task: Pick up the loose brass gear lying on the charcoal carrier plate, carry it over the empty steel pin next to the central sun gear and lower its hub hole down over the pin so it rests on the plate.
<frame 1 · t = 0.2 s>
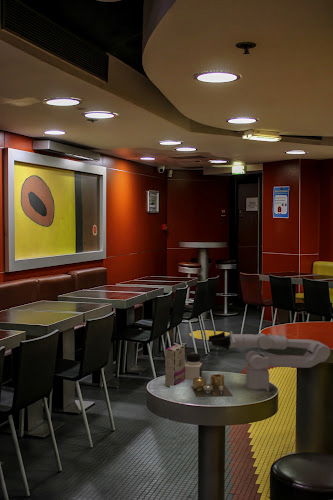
hand: (210, 340, 248), 21 cm above the table, tool horizontal, fingers open, 7 cm apart
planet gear: (217, 387, 250), point 1 cm above the table, touching carrier
medicine bottle: (193, 380, 265), on the table
candy bar box: (175, 384, 258), on the table
carrier: (211, 393, 244), on the table
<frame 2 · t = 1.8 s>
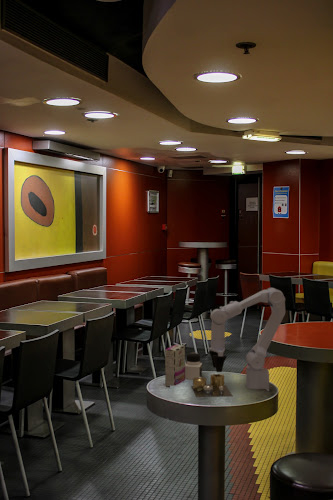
hand: (217, 369, 249), 9 cm above the table, tool pointing down, fingers open, 7 cm apart
nothing on the table moved.
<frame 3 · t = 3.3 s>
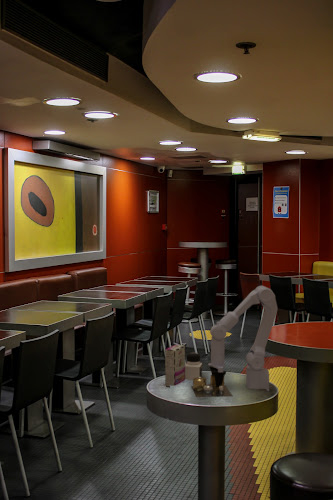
hand: (217, 385, 250), 2 cm above the table, tool pointing down, fingers closed on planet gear, 6 cm apart
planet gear: (217, 387, 250), point 1 cm above the table, touching carrier, gripper
everything else where it was.
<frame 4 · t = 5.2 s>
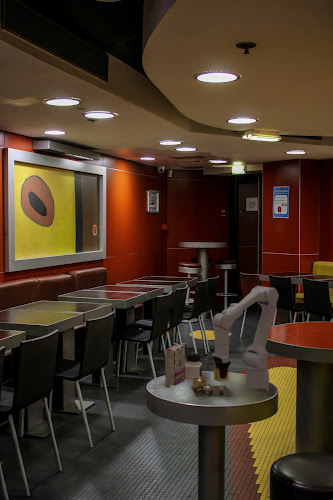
hand: (221, 376, 240), 8 cm above the table, tool pointing down, fingers closed on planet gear, 6 cm apart
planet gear: (220, 379, 241), point 7 cm above the table, touching gripper
everything else where it was.
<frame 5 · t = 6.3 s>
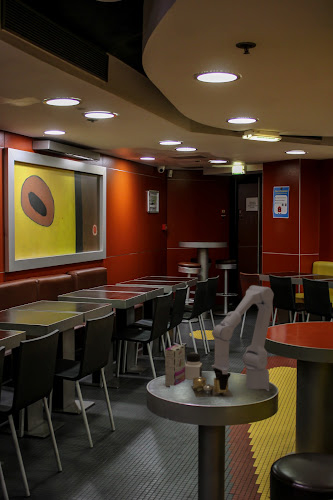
hand: (221, 387, 241), 3 cm above the table, tool pointing down, fingers closed on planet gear, 6 cm apart
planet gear: (220, 390, 241), point 2 cm above the table, touching gripper
everything else where it was.
when the fingers open (3 cm above the table, at t = 7.0 s): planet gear stays where it is, resting on carrier.
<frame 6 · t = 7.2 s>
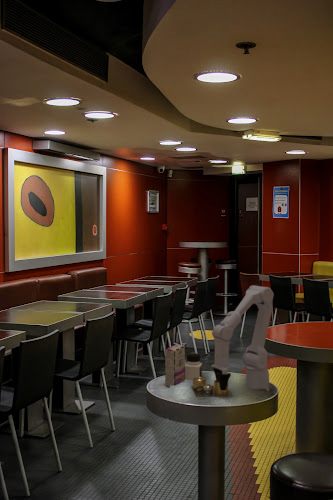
hand: (221, 387, 241), 3 cm above the table, tool pointing down, fingers open, 7 cm apart
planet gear: (220, 393, 241), point 1 cm above the table, touching carrier
everything else where it was.
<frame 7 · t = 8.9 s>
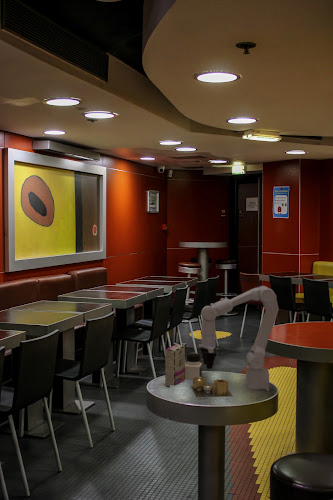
hand: (208, 366, 249), 10 cm above the table, tool pointing down, fingers open, 7 cm apart
nothing on the table moved.
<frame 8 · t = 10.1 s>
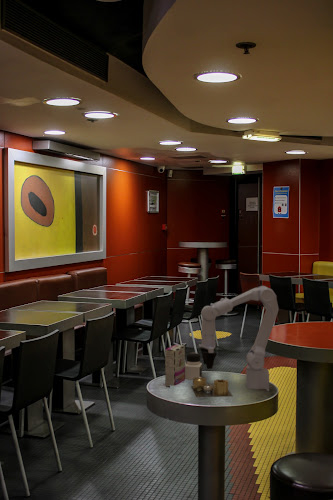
hand: (208, 366, 249), 10 cm above the table, tool pointing down, fingers open, 7 cm apart
nothing on the table moved.
at the end: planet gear 0.2 cm from the target spot on the carrier, point 1.0 cm above the carrier's base; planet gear tilted 0°; the gripper is holding nothing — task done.
